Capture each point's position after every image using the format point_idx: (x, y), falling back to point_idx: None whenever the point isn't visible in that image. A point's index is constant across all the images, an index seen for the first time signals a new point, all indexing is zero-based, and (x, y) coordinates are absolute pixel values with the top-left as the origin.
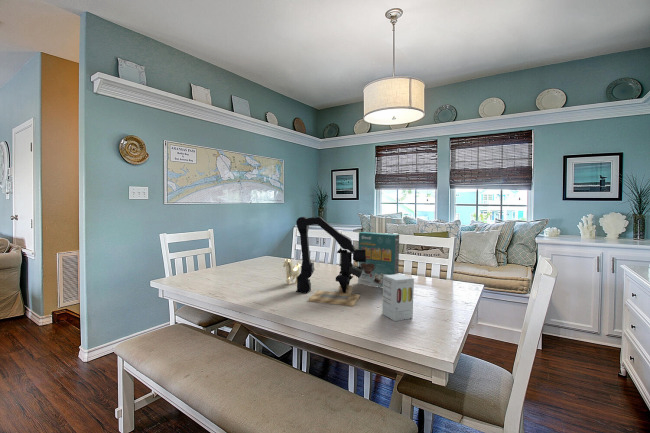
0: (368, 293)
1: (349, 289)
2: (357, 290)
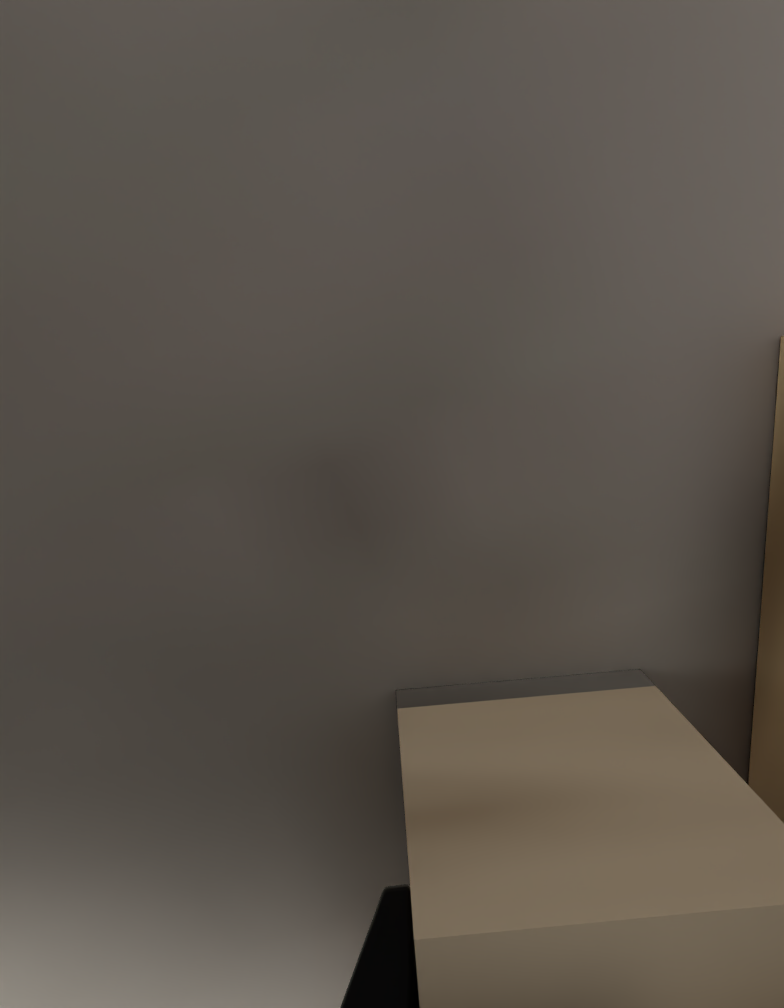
0: (183, 116)
1: (765, 845)
2: (36, 621)
